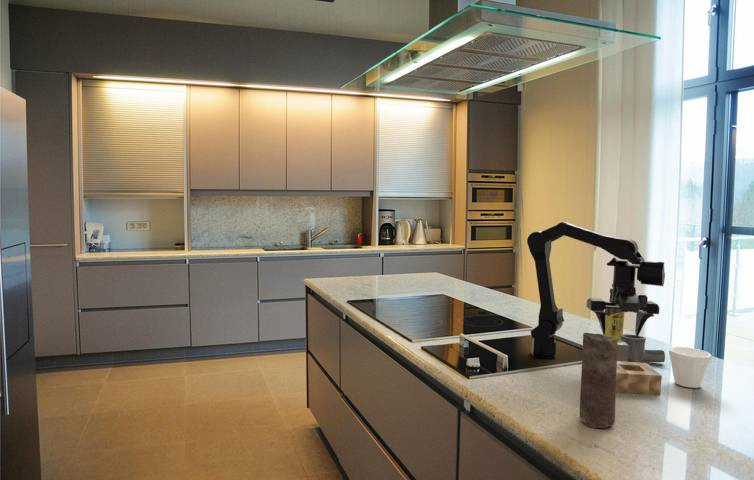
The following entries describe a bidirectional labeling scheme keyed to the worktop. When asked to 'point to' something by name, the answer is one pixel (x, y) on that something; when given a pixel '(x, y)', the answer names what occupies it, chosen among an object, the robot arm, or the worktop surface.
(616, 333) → the sauce bottle
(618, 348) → the square bit
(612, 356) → the brown stone pillar
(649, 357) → the pipe
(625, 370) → the socket block
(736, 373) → the worktop surface
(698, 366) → the cup
